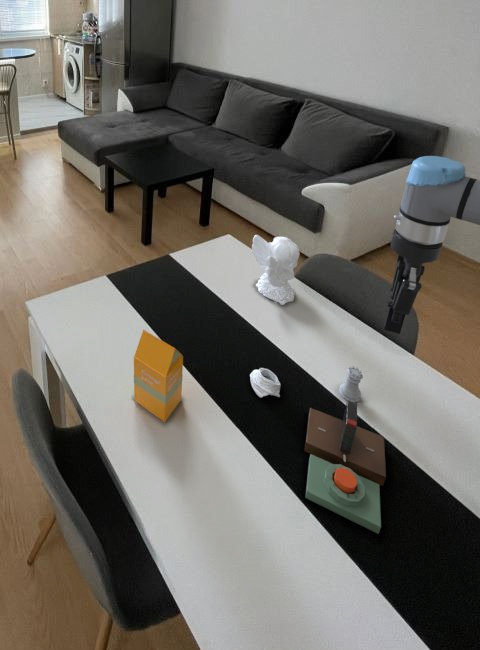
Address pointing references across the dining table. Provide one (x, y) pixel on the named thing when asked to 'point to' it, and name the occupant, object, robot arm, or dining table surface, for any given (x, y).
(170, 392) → the orange juice
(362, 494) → the button block
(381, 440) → the panel
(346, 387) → the rook chess piece
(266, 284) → the cherub figurine
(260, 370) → the white folded cloth ring
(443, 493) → the dining table surface
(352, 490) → the button
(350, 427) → the red-tipped grey box
